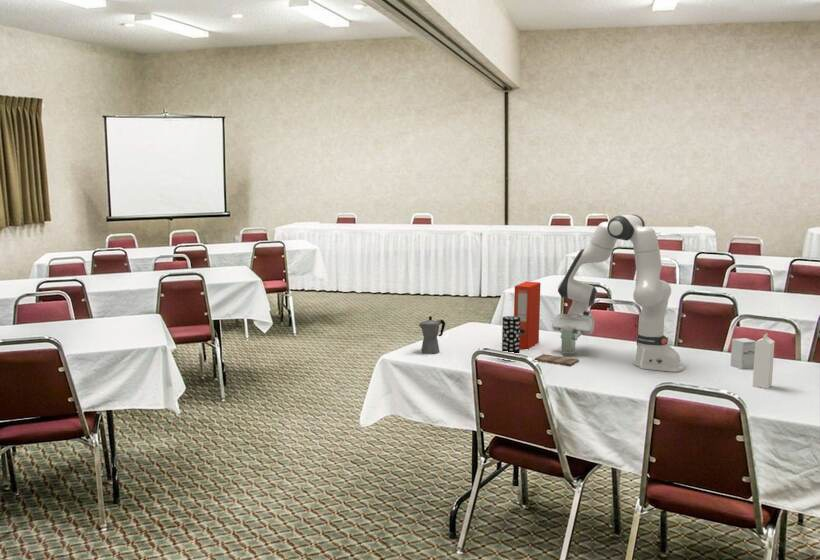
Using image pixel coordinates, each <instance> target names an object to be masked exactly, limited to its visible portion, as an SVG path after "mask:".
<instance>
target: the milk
mask: <svg viewBox="0 0 820 560" xmlns="http://www.w3.org/2000/svg"><path fill="white" fill-rule="evenodd" d="M755 341H756V342H755V355H754V368H753V373H752V387H754V386H755V388H760V387H761V389H766V388H768V389H770V388H771V387H772V386H771V385H772V383H773V372H774V370H773V369H774V358H775V357H774V355H775V342H776V341H775V340H773V339H771V337H769V336H768V333H767V332H766V333H765V334H764V335H763V337H762V338H760V339H758V340H755ZM770 386H771V387H770Z"/></svg>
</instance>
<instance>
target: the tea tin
mask: <svg viewBox="0 0 820 560" xmlns="http://www.w3.org/2000/svg"><path fill="white" fill-rule="evenodd" d="M575 329H576V327H572V326H564V327H562V338H561V353H565V354H566V353H567V354H573V353H574V352H575V353H576V340H573V337H574V335H576V334H577V333H576V330H575Z"/></svg>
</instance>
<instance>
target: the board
mask: <svg viewBox="0 0 820 560" xmlns="http://www.w3.org/2000/svg"><path fill="white" fill-rule="evenodd" d="M535 360H538V361H537V362H539V361H541V363H545V362H547V364H552V363H554V364H553V365H558V364H560V366H565V365H566V366H565V367H573V366H575V365H576V364H578V363H579V362H580V360H579V359H578V358H571V357H568V356H567V357H566V356H559V355H553V354H545V353H543V354H541V355H538V356H537V357H535V358H534V361H535ZM577 362H578V363H577ZM575 363H576V364H575Z"/></svg>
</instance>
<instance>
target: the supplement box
mask: <svg viewBox="0 0 820 560" xmlns="http://www.w3.org/2000/svg"><path fill="white" fill-rule="evenodd" d="M756 341H757V340H753V339H749V338H746V337H742V338H732V339H731V351H730V352H731V353H730V354H731V355H730V366H731V367H734V368H737V369H739V370H743V369H754V355H755V342H756Z"/></svg>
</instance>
